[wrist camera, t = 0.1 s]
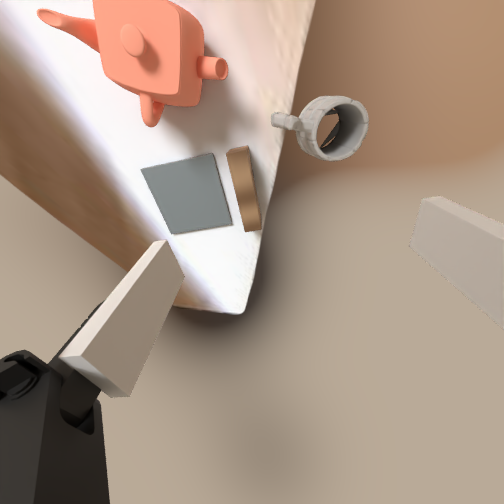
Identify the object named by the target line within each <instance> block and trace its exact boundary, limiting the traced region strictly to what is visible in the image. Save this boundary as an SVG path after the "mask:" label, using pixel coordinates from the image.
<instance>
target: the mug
mask: <svg viewBox="0 0 504 504" xmlns="http://www.w3.org/2000/svg"><path fill="white" fill-rule="evenodd" d="M332 108H334V109H335V110H336V111H335V110H332ZM336 113H338V116H339V122H338V123H337V124H336V126H335V127H334V129H333V130H332V131H331V133H330V134H329V135H328V137H327V138H326V140H325V141H324V143H323V144H322V145H321V147H320V148H319V147H318V144H317V141H316V136H317V129H318V126H319V123H320V121H321V120H322V118H323V117H324V115H330V114H336ZM368 122H369V118H368V114H367V111H366V109H365V108H364V106H363V105H362V104H361V103H360V102H358V101H355V100H352V99H351V98H348V97H345V96H320V97H318V98H317V99H315V100H313V101H311V102H310V103H309V104H308V105H307V106H306V107H305V108H304V109H303V111H302V112H301V114H300V116H299V118H297V117H296V116H292V115H288V114H283V113H280V112H275V113H273V114H272V115H271V124H272V126H273V127H277V128H278V127H279V128H283V129H287V130H295V131H296V138H297V141H298V144H299V145H300V148H301V149H302V150H303V151H304V152H306V153H307V154H309V155H312V156H314V157H316V158H318V159H321V160H325V161H326V160H327V161H339V160H343V159H346V158H348V157H350V156H351V155H353V154H354V152H356V151H357V150H358V149H359V148H360V146H361V144H362V141H363V139H364V138H365V136H366V134H367V131H368ZM334 136H335V138H334V139H333V140H332V142H331V143H329V144H328V145H327V146H325V147H323V146H324V145H325V144H326V143H327V142H329V141H330V140H331V139H332V138H333V137H334ZM322 147H323V148H322Z"/></svg>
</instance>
